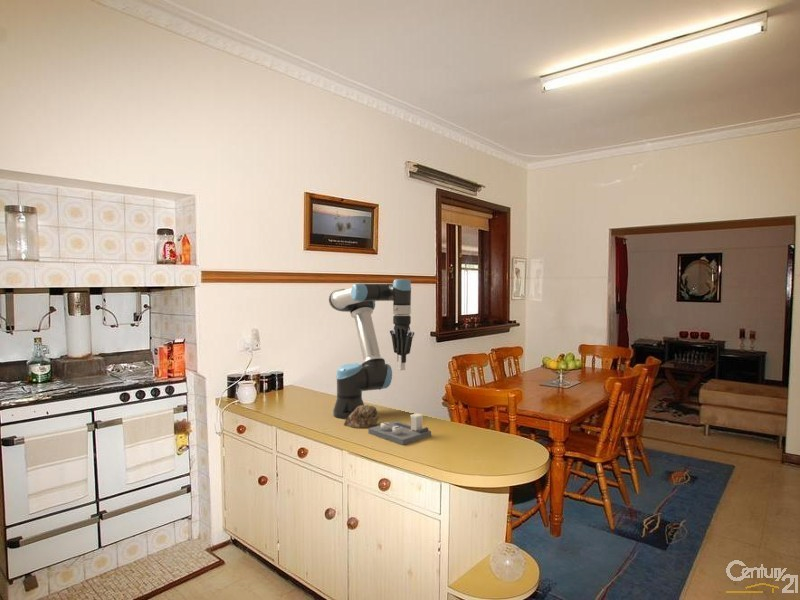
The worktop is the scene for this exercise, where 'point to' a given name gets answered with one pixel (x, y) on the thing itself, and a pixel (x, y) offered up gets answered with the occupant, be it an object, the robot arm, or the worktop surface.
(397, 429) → the console
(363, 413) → the rock
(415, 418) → the fader tab
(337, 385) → the robot arm
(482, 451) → the worktop surface
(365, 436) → the worktop surface
